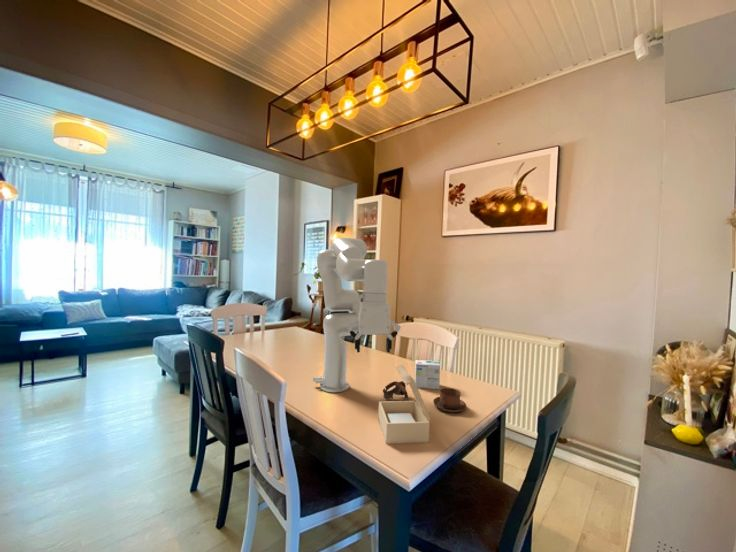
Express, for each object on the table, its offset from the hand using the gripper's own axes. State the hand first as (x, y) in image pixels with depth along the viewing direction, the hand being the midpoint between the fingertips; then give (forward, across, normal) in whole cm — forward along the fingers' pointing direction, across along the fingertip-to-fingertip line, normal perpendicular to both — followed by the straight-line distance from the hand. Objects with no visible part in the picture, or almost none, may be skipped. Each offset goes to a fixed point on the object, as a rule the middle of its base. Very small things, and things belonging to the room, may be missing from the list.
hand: (373, 351), depth 99 cm
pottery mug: (+25, +13, +21) cm, 35 cm away
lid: (+13, +12, -1) cm, 18 cm away
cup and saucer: (+25, +32, +14) cm, 43 cm away
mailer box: (+25, +10, -1) cm, 27 cm away
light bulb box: (+25, +29, +35) cm, 52 cm away
